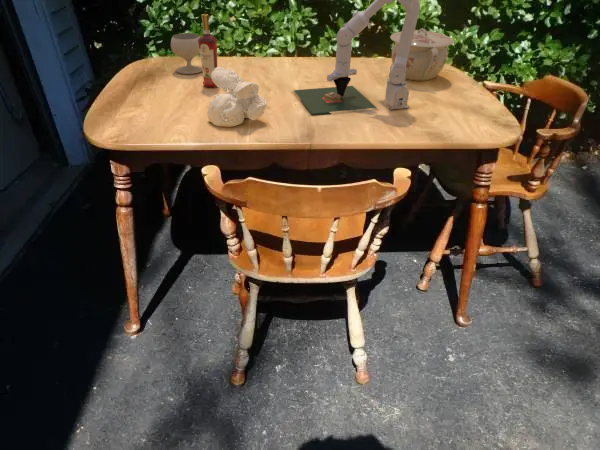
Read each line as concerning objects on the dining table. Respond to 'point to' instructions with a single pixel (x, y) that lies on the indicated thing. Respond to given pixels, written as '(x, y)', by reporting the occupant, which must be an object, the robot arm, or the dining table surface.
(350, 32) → the robot arm
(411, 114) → the dining table surface
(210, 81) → the liquor
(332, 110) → the game board
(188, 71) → the chalice
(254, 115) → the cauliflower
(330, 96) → the letter tile
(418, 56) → the chamber pot
